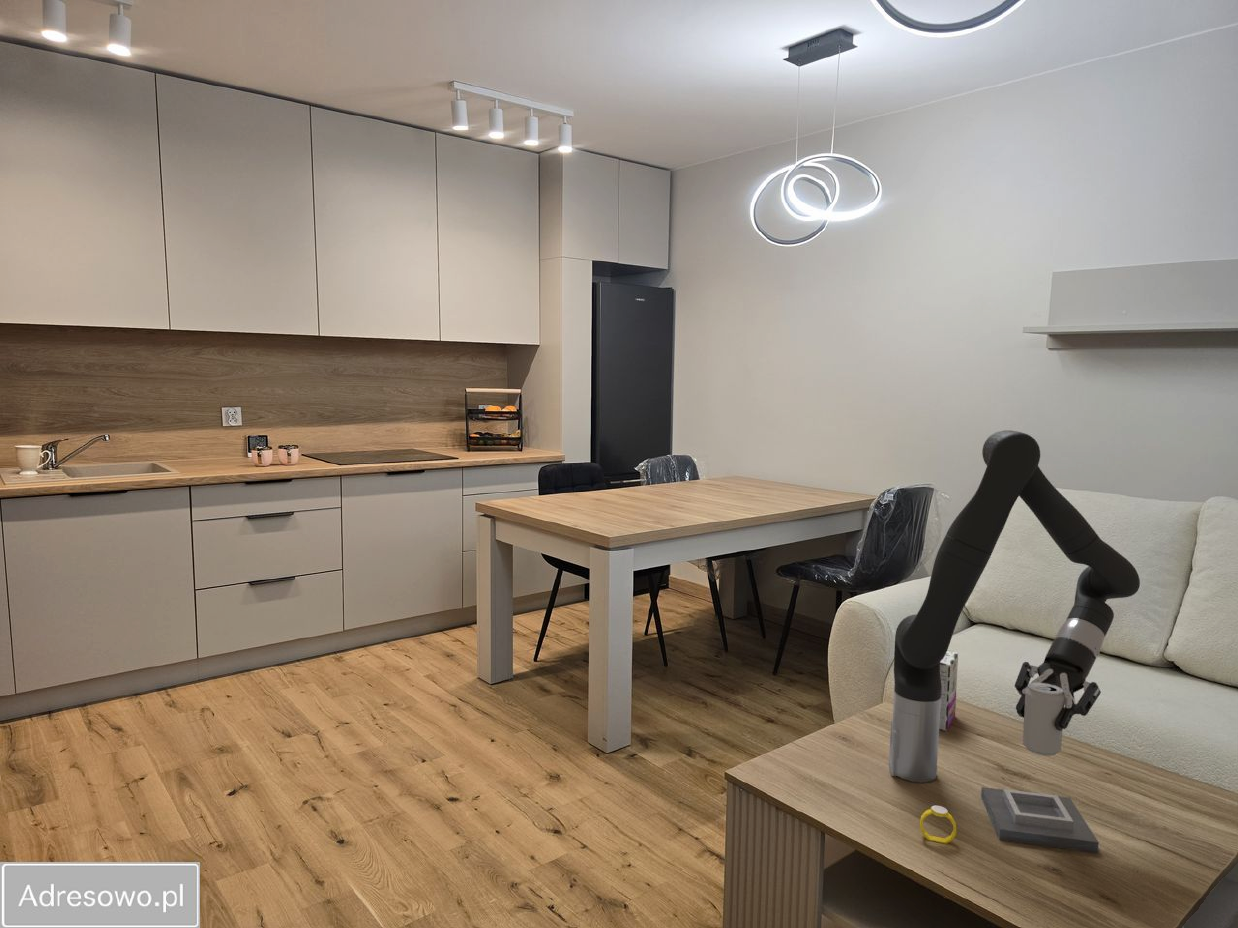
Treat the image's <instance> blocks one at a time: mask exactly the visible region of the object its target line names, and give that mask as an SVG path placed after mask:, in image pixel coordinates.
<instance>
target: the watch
mask: <svg viewBox="0 0 1238 928" xmlns="http://www.w3.org/2000/svg"><path fill="white" fill-rule="evenodd" d="M930 815H934V816H936V817H940V818H944V817H946V818H947V819H949V821H950V822H951V824H952V826H953V829H952V832H951V834H950V835H948V836H947V837H939V836H934V835H930V834H929V833H928V832H927V831H926V830H925V827H924V825H923V824H924V823H923V822H924V821H925V819H926V817H928V816H930ZM919 821H920V822H919V829H920V831H921V834H922V835H923V837H924V838H926V839H927V840H928V841H930V842H937V843H941V844H946V845H947V844H949V843H950V842H952V841H953V840H954V839H955V837H956V835H957V824H956V821H955V819H954V817H953V816H952V814H950V813H949V811H948V809H947V808H946V807H944V806H941V805H933V806H931V807H930V808H929V809H927V810H925V811H924V812H923V813H922V814H921V816H920V820H919Z"/></svg>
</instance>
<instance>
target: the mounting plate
mask: <svg viewBox="0 0 1238 928" xmlns="http://www.w3.org/2000/svg"><path fill="white" fill-rule="evenodd" d="M980 798H981V800H982V802H983V805H984V807H985V809H986V811H987V814H988V816H989V819H990V822H991V824H992V825H993V828H994V830H995V833H996V835H997V837H998V839H999V841H1005V842H1013V843H1020V844H1026V845H1033V846H1035V845H1036V846H1041V847H1042V846H1043V847H1049V848H1050V847H1051V848H1056V849H1065V850H1071V851H1072V850H1073V851H1080V852H1085V853H1086V852H1088V853H1094V854H1099V845H1100V843H1099V840H1098V839H1097V838H1096V836H1095V834H1094V833H1093V831H1092V830H1091V827H1089V824H1088V823H1087V822H1086V821H1085V819H1084V817H1083V816H1082V814H1081V812H1080V811H1079V809H1078V808H1077V807H1076V804H1075V803H1074V801H1073V800H1072V799H1071V797H1067V796H1060V795H1055V794H1046V793H1040V792H1032V791H1030V792H1029V791H1022V790H1021V791H1020V790H1014V789H1006V788H1003V789H1001V788H994V787H986V786H985V787H984V786H981V791H980Z"/></svg>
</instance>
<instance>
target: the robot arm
mask: <svg viewBox="0 0 1238 928" xmlns="http://www.w3.org/2000/svg"><path fill="white" fill-rule="evenodd" d="M981 450H982V459H983V462H984V464H985V466H986V468H985V471H984V474H983V476H982V478H981V481H980V483H979V485H978V488H977V490H976V491H975V493H974V495H972V497H971V499H970V500H969V501H968V503H967V504H966V505H965V506H964V507H963V508H962V509H961V510H960V512H959V513H958V515H957V516H956V517H955V519H954V520H953V522H952V523H951V525H950V526H949V528H948V529H947V532H946V533H945V536H944V538H943V540H942V542H941V544H940V546H939V548H938V550H937V553H936V557H935V558H934V562H933V566H932V571H931V574H930V581H929V585H928V589H927V593H926V595H925V598H924V601H923V603H922V604H921V607H920V608H919V610H918V612H917V613H916V614H911V615H908V616H906V617H904V618H903V619H902V620H901V621H900V622H899V624H898V625H897V627H896V631H895V637H894V653H893V655H894V656H893V679H894V686H893V687H894V689H893V690H894V691H893V705H892V706H893V707H892V708H893V710H892V721H890V737H889V756H888V766H889V770H890V775H891V777H896V776H898V777H897V778H899V777H900V779H902V780H905V781H908V782H913V783H930V782H933V781H934V780H936V778H937V771H938V757H939V738H940V736H939V735H940V730H939V724H940V708H941V692H942V684H941V677H940V661H941V660H942V659H943V658H944V656H945V655H946V652H947V651H949V650H948V649H949V646H950V643H951V641H952V637H953V635H954V632H955V629H956V626H957V623H958V621H959V618H960V615H961V613H962V611H963V610H964V608H965V606H966V604H967V602H968V601H969V599H970V598H971V597H970V596H971V595H972V593H973V591H974V589H975V588H976V586H977V584H978V582H979V580H980V578H981V576H982V574H983V572H984V571H985V568H986V567H987V564H988V562H989V561H990V558H991V556H992V554H993V552H994V550H995V547H996V545H997V542H998V541H999V538H1000V536H1001V534H1002V532H1003V530H1004V528H1005V526H1006V523H1007V521H1008V519H1009V517H1010V514H1011V511H1012V508H1013V507H1014V505H1015V503H1016V501H1017V499H1018V498H1019V497H1020V498H1021V500H1022V502H1024V503H1025V504H1026V506H1027V507H1028V508H1029V509H1030V510H1031V512H1032V513H1033V514H1034V516H1035V517H1036V518H1037V520H1038V521H1039V522H1040V524H1041V526H1043V528H1044V529H1045V531H1046V532H1047V533H1048V535H1049V536H1050V537H1051V539H1052V540H1053V541H1054V543H1055V544H1056V545H1057V546H1058V548H1059V549H1060V550H1061V552H1062V553H1063V554H1064V556H1065V557H1066V558H1067V559H1068V560H1069V561H1070V562H1072V563H1074V564H1079V565H1085V566H1087V567H1085V569H1083V571H1081V573H1080V574H1079V577H1078V579H1077V583H1076V588H1075V589H1076V590H1075V595H1074V604H1073V606H1072V607H1071V610H1070V611H1069V613H1068V615H1067V617H1066V619H1065V621H1064V623H1063V624H1062V625H1061V626H1060V628H1059V630H1058V631H1057V633H1056V635H1055V637H1054V639H1053V641H1052V643H1051V645H1050V647H1049V649H1048V651H1047V653H1046V655H1045V657H1044V660H1043V663H1041V664H1040V665H1038V666H1037V665H1031V664H1030V663H1029V662H1028V661H1024V662H1022V665H1021V668H1020V669H1019V673H1018V675H1017V677H1016V681H1015V683H1014V688H1015V690H1016V691H1017V692H1018V694H1019V695H1020V697H1019V699H1018V702H1017V704H1016V705H1015V710H1016V713H1017V715H1018V716H1019V717H1021V718H1022V719H1024V710H1025V695H1026V690H1027V689H1028V688H1029V687H1028V685H1029V684H1030V683H1035V682H1040V683H1048V684H1052V685H1055V686H1058V687H1060V688H1061V689H1062V690H1063V693H1062V694H1063V696H1064V698H1065V700H1064V708H1062V709H1061V711H1060V713H1059V715H1058V717H1057V719H1056V721H1055V723H1054V726H1055V728H1056V729H1057V730H1059V731H1062V732H1063V730H1066V729H1067V728H1068V727H1069V724H1070V722H1071V720H1072V718H1073V716H1074V715H1081V716H1082V717H1086V716H1087V715H1088V713H1089V712H1090V710H1091V709H1092V708H1093V706H1094V705H1095V703H1096V701H1097V699H1098V698H1099V696H1100V694H1101V692H1102V691H1101V689H1100V687H1099V686H1098V684H1097V682H1095V681H1091V682H1088V681H1087V678H1088V677H1089V674H1090V672H1091V670H1092V668H1093V666H1094V664H1095V662H1096V660H1097V658H1098V657H1099V655H1100V652H1101V649H1102V647H1103V644H1104V640H1105V639H1106V638H1105V637H1106V636H1107V633H1108V631H1109V629H1110V628H1111V625H1112V623H1113V620H1114V618H1115V617H1114V616H1115V615H1114V610H1113V608H1112V607H1111V606H1110V605H1109V604H1108V603H1107V600H1112V599H1113V600H1114V599H1123V598H1129V597H1132V596H1134V595H1135V594H1137V592H1138V591H1139V589H1140V586H1141V580H1140V577H1139V573H1138V571H1137V569H1136V568H1135V566H1134V565H1133V564H1132V563H1131V562H1130V561H1129V560H1128V559H1127V558H1126V557H1124V556H1123V555H1122V554H1121V553H1120V552H1119V551H1117V550H1116V549H1115V548H1113V547H1112V546H1111V545H1109V544H1108V543H1106V542H1105V541H1103V540H1102V539H1101V538H1100V536H1099V534H1098V533H1097V532H1096V531H1095V529H1094V528H1093V527H1092V525H1090V523H1089V522H1088V521H1087V519H1086V518H1085V517H1084V516H1083V514H1082V513H1080V511H1079V510H1078V509H1077V508H1076V507H1075V506H1074V505H1073V504H1072V503H1071V502H1070V501H1069V500H1068V499H1067V498H1066V497H1065V496H1064V495H1063V494H1062V493H1060V491H1059V490H1058V489H1057V488H1056V487H1055V486H1054V485H1053V484H1052V483H1051V481H1050V480H1049V479H1048V477H1047V476H1045V474H1044V473H1043V471H1042V470H1041V467H1040V466H1039V463H1040V461H1041V460H1040V459H1041V450H1040V446H1039V443H1038V441H1036V439H1035V438H1034V437H1032V436H1031V435H1029V434H1028V433H1024V432H1021V431H1015V430H1000V431H997V432H995V433H992V434H990V435H989V436H988V437H987V438H986V440H985V441H984V443H983V446H982V449H981ZM1036 675H1038V677H1036V678H1034V677H1035V676H1036ZM1031 678H1032V680H1031ZM1033 678H1034V679H1033ZM1030 681H1031V682H1030ZM1048 688H1050V689H1051V690H1050V691H1057V690H1056V689H1055V688H1052V687H1048ZM1082 689H1083V694H1082V695H1081V697H1080V698H1079V700H1078V701H1077V703H1076V698H1075V693H1076V692H1078V691H1081V690H1082Z"/></svg>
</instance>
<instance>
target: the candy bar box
mask: <svg viewBox="0 0 1238 928" xmlns="http://www.w3.org/2000/svg"><path fill="white" fill-rule="evenodd" d="M958 660H959V652H957V651H951V650H947V652H946V655H945V656H944V658H943V659H942V660H941V661H940V677H941V684H942V692H941V708H940V724H939V731H945V732H947V731H948V730H949V728H950V726H951V724H952V722H953V721H954V718H955V716H956V708H957V707H956V706H957V705H956V703H957V688H958V687H957V682H958V663H959V661H958Z"/></svg>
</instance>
